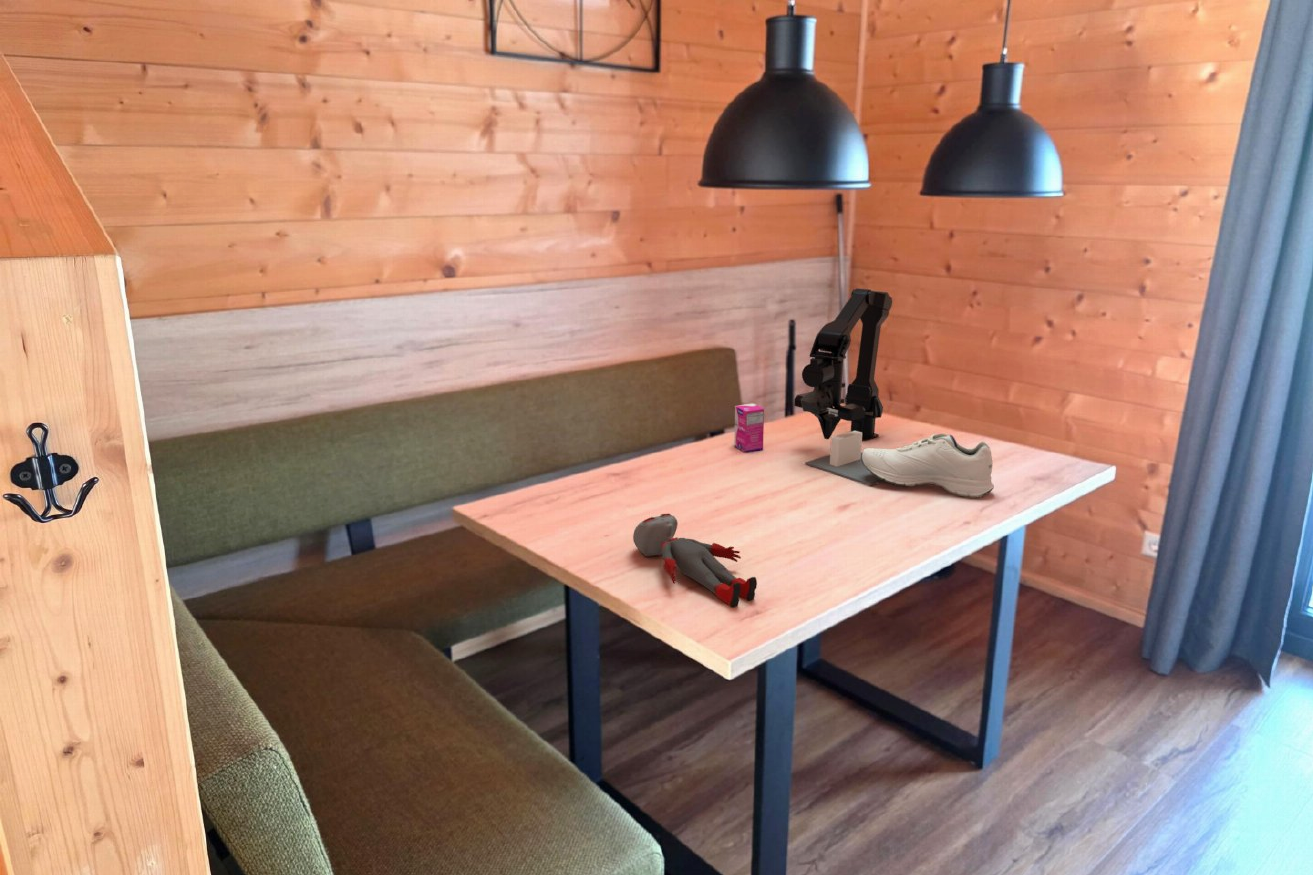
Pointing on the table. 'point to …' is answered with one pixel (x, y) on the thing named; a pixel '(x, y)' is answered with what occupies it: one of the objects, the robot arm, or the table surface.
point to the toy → (693, 559)
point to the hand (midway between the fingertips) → (826, 438)
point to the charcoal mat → (846, 470)
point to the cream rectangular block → (845, 448)
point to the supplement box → (749, 427)
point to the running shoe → (934, 465)
